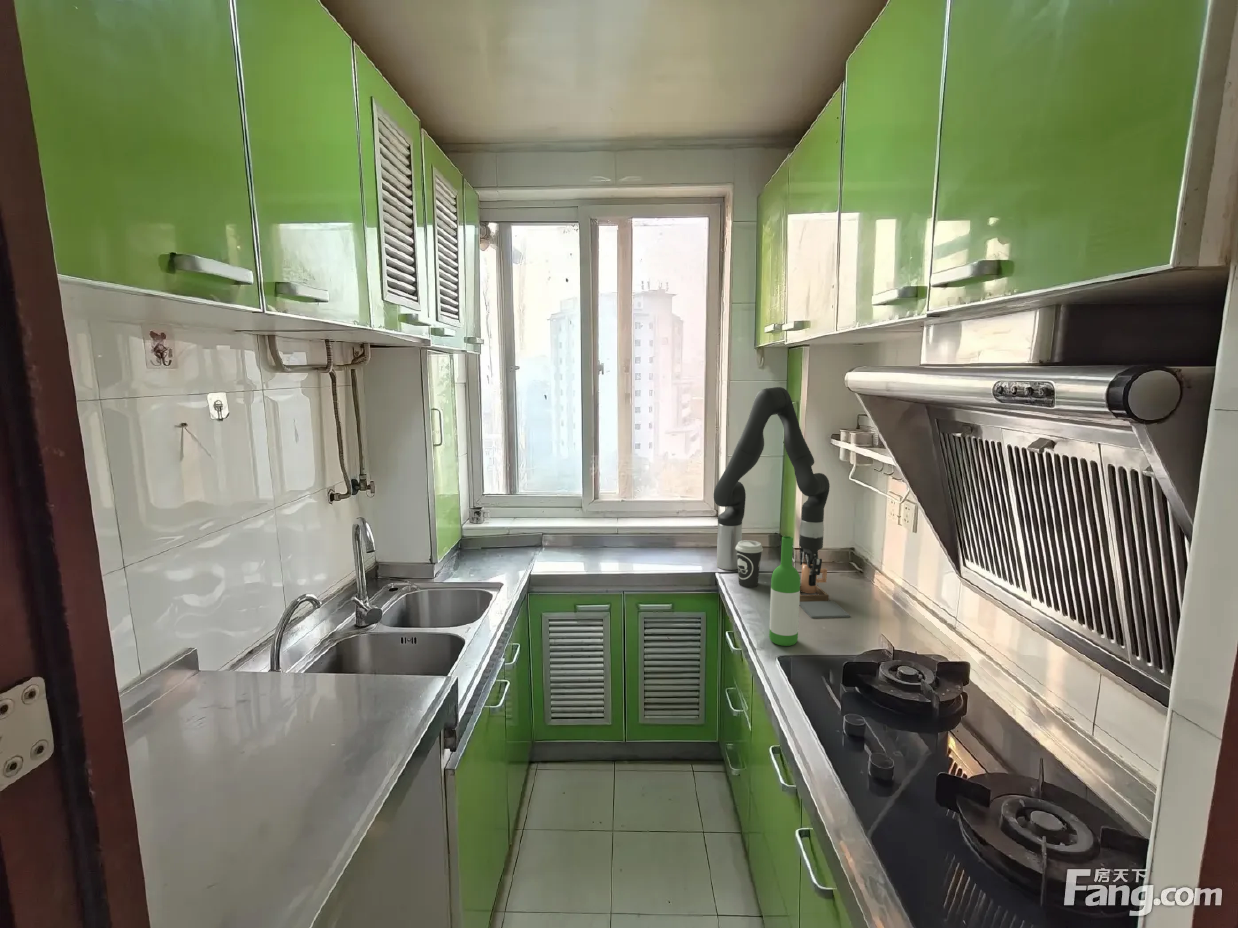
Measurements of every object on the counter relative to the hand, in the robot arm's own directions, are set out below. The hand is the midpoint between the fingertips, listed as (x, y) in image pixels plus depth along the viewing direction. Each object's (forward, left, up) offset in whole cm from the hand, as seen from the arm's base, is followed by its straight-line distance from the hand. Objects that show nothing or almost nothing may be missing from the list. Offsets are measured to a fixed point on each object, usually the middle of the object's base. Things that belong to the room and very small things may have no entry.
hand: (808, 582), depth 203 cm
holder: (0, 0, -5) cm, 5 cm away
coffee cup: (-13, -17, -5) cm, 22 cm away
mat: (+12, 0, -5) cm, 13 cm away
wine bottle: (+33, -20, -5) cm, 39 cm away
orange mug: (0, +2, -3) cm, 3 cm away
